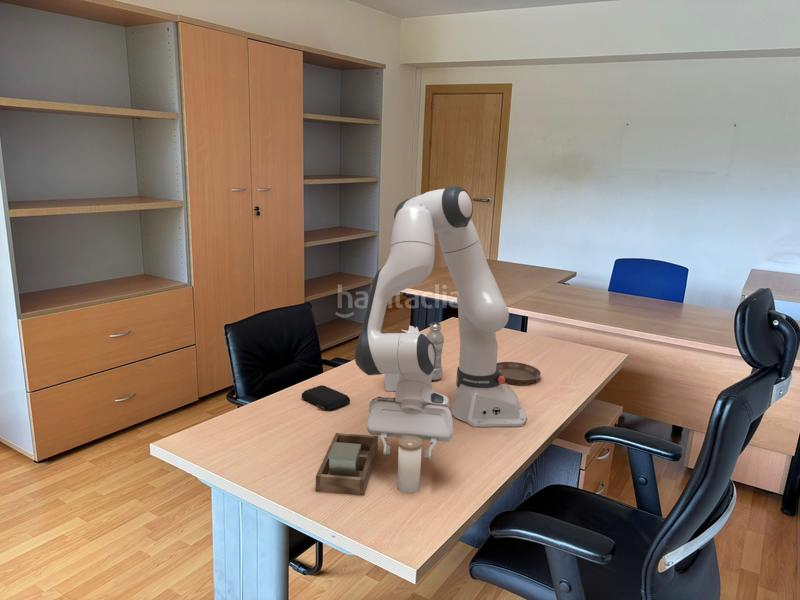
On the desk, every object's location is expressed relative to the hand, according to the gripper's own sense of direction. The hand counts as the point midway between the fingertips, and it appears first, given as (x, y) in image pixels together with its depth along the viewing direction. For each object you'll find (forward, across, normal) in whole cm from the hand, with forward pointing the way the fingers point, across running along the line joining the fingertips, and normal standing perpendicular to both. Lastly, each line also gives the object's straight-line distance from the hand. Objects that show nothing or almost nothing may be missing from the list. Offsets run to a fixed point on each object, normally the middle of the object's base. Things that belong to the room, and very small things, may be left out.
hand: (407, 456), depth 131 cm
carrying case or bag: (-25, -30, +38) cm, 54 cm away
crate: (+3, -14, +9) cm, 17 cm away
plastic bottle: (-44, +2, +55) cm, 70 cm away
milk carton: (-36, -10, +48) cm, 61 cm away
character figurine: (-62, -6, +73) cm, 96 cm away
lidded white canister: (+7, +1, +5) cm, 8 cm away
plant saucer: (-49, +31, +60) cm, 83 cm away
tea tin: (+6, -14, +4) cm, 16 cm away
